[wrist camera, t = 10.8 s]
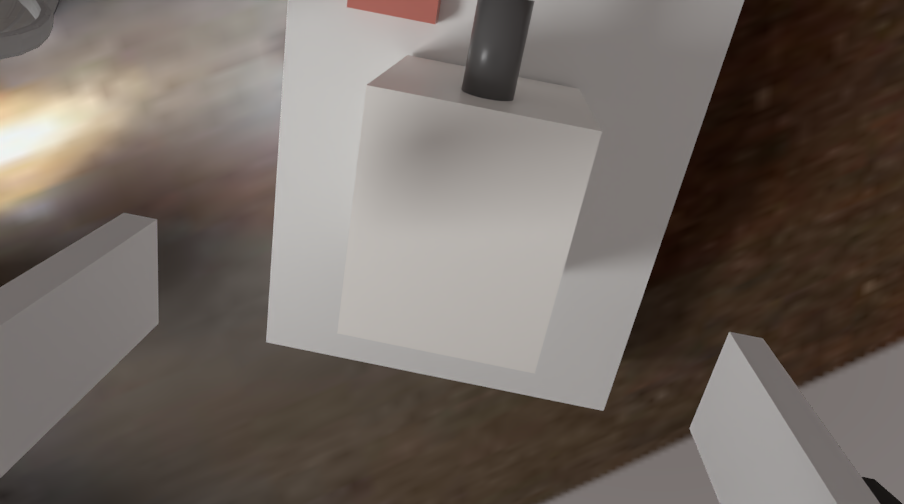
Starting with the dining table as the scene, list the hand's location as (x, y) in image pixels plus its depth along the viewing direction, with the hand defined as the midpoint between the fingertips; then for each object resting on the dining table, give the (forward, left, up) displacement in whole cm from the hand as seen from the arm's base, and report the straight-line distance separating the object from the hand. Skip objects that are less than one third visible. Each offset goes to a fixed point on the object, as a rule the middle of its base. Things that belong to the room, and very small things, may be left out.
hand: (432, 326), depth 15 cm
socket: (0, 0, -16) cm, 16 cm away
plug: (+2, 0, -16) cm, 16 cm away
